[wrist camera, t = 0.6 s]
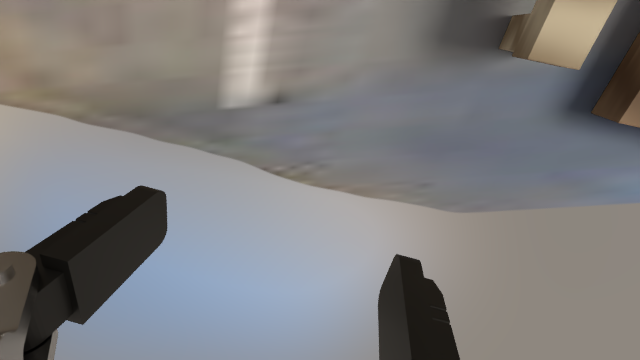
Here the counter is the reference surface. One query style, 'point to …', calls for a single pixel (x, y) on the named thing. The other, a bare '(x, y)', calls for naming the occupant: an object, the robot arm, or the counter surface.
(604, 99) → the brown slotted wooden block
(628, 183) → the counter surface
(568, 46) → the beige wooden plank
